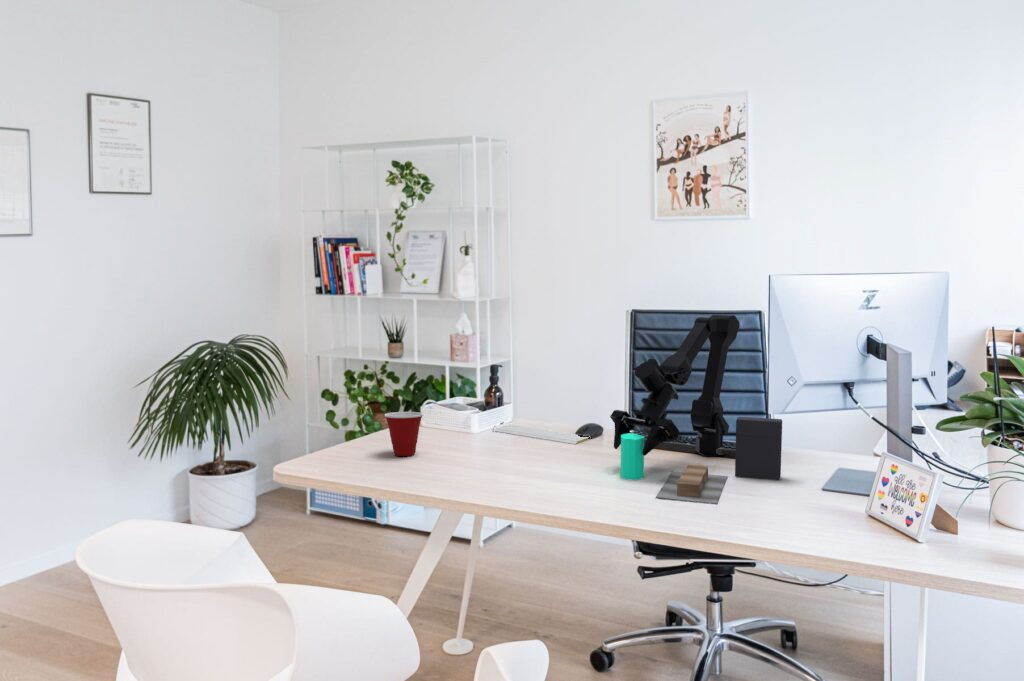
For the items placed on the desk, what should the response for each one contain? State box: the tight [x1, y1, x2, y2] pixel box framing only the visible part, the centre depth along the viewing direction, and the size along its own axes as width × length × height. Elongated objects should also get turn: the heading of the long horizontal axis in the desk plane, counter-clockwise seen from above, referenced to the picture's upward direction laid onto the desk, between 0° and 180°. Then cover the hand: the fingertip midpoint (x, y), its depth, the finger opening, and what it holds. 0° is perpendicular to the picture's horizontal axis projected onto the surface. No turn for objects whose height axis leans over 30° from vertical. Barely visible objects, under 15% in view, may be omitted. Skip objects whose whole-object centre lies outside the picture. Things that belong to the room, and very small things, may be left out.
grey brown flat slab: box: [655, 463, 728, 505], centre depth 212 cm, size 24×14×3 cm, turn 161°
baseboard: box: [492, 421, 590, 445], centre depth 268 cm, size 30×3×10 cm
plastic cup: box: [384, 411, 424, 458], centre depth 245 cm, size 11×11×12 cm
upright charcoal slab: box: [734, 416, 783, 481], centre depth 220 cm, size 11×4×15 cm, turn 71°
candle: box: [620, 431, 645, 481], centre depth 221 cm, size 6×6×12 cm
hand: (628, 451), depth 220 cm, fingers open, 9 cm apart
